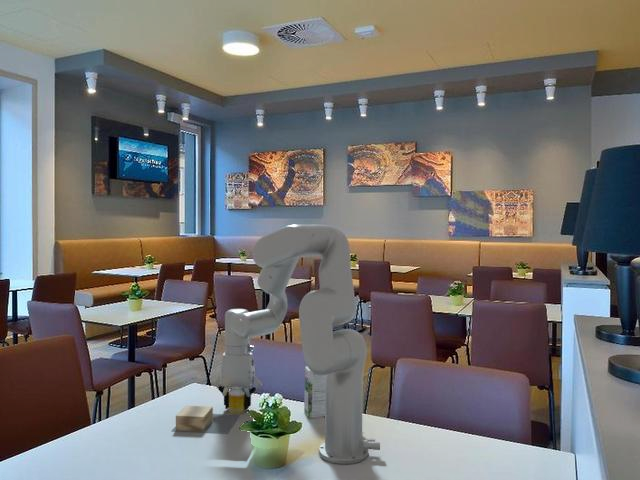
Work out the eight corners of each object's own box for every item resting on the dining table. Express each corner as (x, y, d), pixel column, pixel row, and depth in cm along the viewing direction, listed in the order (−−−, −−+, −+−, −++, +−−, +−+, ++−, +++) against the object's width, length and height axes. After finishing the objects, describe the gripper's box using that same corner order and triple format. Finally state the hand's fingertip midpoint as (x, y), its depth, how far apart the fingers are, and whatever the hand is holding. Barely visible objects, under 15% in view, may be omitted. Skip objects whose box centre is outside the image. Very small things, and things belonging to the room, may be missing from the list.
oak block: (212, 420, 148) (212, 406, 148) (203, 431, 140) (203, 416, 140) (186, 419, 148) (186, 405, 148) (175, 430, 141) (175, 415, 140)
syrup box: (303, 412, 158) (303, 366, 157) (321, 410, 159) (321, 364, 159) (308, 418, 152) (308, 371, 152) (327, 416, 154) (327, 369, 154)
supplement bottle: (228, 411, 158) (228, 380, 158) (245, 410, 159) (245, 379, 159) (229, 417, 153) (229, 386, 153) (246, 416, 154) (246, 385, 154)
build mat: (240, 418, 152) (240, 414, 152) (227, 438, 138) (227, 433, 138) (188, 416, 154) (188, 412, 154) (170, 435, 140) (170, 431, 140)
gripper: (267, 347, 159) (267, 404, 159) (214, 345, 160) (214, 402, 161) (262, 353, 151) (262, 413, 152) (206, 351, 153) (206, 411, 153)
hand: (237, 407), depth 156 cm, fingers closed on supplement bottle, 5 cm apart
